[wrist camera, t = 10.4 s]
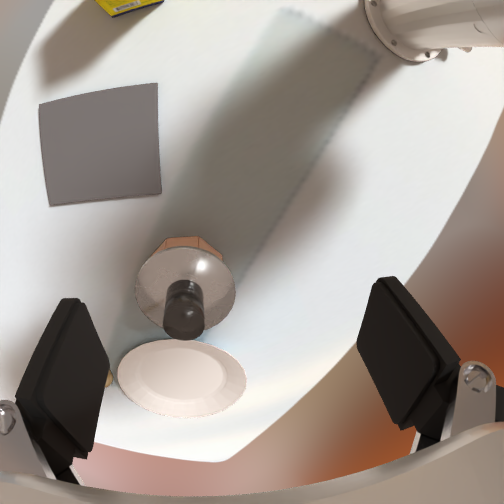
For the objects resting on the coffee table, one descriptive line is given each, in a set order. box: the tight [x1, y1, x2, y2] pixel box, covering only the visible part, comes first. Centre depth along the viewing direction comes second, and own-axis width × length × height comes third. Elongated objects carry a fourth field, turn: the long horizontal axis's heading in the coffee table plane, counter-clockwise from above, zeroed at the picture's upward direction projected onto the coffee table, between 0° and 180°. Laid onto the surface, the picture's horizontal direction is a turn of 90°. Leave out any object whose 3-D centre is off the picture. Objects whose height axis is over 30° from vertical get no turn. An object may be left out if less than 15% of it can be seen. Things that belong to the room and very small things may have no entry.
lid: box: [135, 246, 236, 341], centre depth 30 cm, size 11×11×6 cm
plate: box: [117, 339, 247, 418], centre depth 44 cm, size 21×21×2 cm
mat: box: [39, 83, 162, 205], centre depth 27 cm, size 14×12×1 cm
